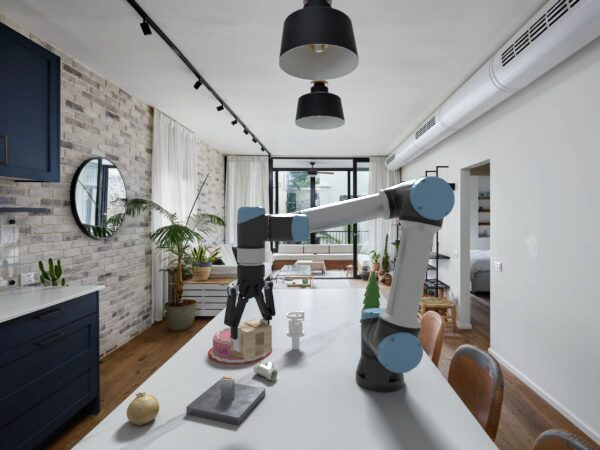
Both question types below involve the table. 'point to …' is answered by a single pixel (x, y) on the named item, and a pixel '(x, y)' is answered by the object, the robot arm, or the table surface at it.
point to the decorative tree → (371, 294)
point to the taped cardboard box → (254, 339)
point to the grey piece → (226, 401)
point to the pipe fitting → (266, 370)
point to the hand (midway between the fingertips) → (250, 346)
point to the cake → (228, 350)
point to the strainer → (295, 328)
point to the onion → (142, 409)
